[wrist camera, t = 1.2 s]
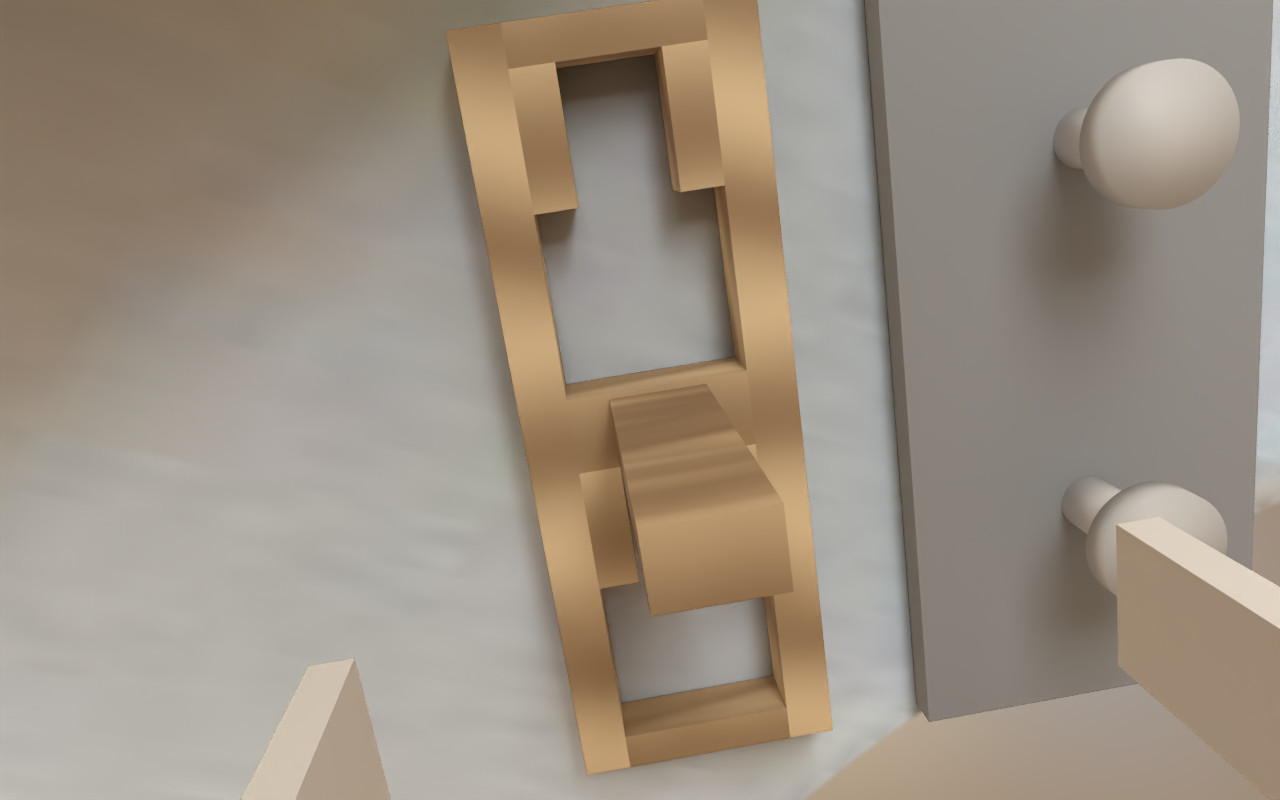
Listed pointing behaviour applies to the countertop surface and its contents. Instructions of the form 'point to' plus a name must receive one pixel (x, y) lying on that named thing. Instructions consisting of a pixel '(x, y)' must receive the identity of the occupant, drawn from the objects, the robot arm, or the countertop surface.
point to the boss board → (1064, 314)
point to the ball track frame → (656, 379)
